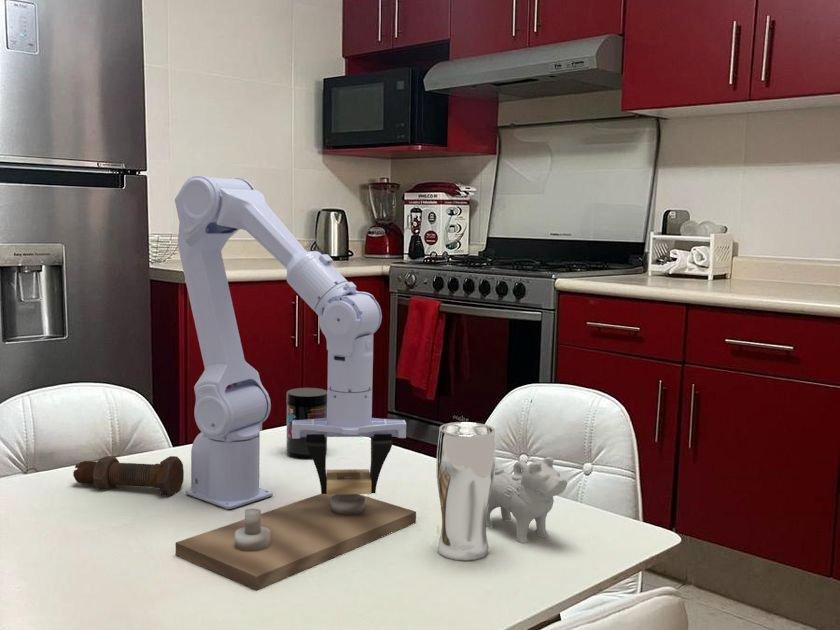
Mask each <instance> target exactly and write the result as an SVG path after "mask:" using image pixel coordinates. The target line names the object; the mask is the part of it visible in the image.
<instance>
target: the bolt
mask: <svg viewBox="0 0 840 630" xmlns="http://www.w3.org/2000/svg"><path fill="white" fill-rule="evenodd" d="M74 468H75V469H74V470H73V472H72V473H73V477H74V480H75V481H76V482H77V483H78V484H79V483H80V484H86V485H94V486H95V487H96V488H97V490H102V491H109V490H112V489H115V487H118V486H120V487H123V486H124V487H126V486H127V487H141V488H143V487H144V488H152V489H158V490H159V493H160V496H161V497H171V496H175V495H177V494H178V493H180V490H181V488H182V486H183V483H184V479H185V478H184V477H185V476H184V473H185V471H184V465H183V462H182V460H181V458H179V456H177V455H176V456H175V455H174V456H173V455H170V456H168V457H166V458H164V459H163V460H161V461H160V463H155V464H153V463H152V464H151V463H134V462H120V461H119V459H118V458H117V457H116V456H114V455H110V456H109V455H106V456H103V457H101V458H99V459H98V460H97V461H95V460H94V461H91V460H84V461H80V462H79V463H76V464H75V465H74Z"/></svg>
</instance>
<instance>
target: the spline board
mask: <svg viewBox="0 0 840 630" xmlns="http://www.w3.org/2000/svg"><path fill="white" fill-rule="evenodd" d="M352 479H353V477H351V476H345V477H344V480H352ZM413 523H414V524H416V523H417V511H415V510H412V509H408V508H405V507H403V506H399V505H396V504H392V503H390V502H386V501H382V500H379V499H377V498H372V497H369V496H365V495H364V494H329V495H327V494H321V493H320V494H319V493H318V494H316V495H313V496H309V497H307V498H304V499H301V500H298V501H295V502H292V503H289V504H286V505H283V506H280V507H278V508H277V507H276V508H274V509H271V510H268V511H266V512H262V511H261V509H259V508H247V509H246V510H245V511H244V519H241V520H239V521H236V522H233V523H230V524H227V525H224V526H220V527H218V528H214V529H212V530H211V529H210V530H209V531H206V532H202V533H200V534H197V535H193V536H191V537H188V538H185V539H182V540H179V541H176V542H175V556H177V557H179V558H182V559H184V560H186V561H189V562H191V563H193V564H196V565H197V566H200V567H202V568H205V569H207V570H209V571H212V572H214V573H216V574H218V575H220V576H223V577H225V578H228V579H230V580H232V581H234V582H237V583H239V584H241V585H244V586H246V587H247V588H250V589H252V590H255V591H258V590H260V589H263V588H265V587H267V586H269V585H272V584H275V583H277V582H279V581H282V580H284V579H286V578H289V577H291V576H294V575H296V574H298V573H301V572H303V571H305V570H308V569H310V568H312V567H315V566H317V565H319V564H321V563H323V562H327V561H329V560H331V559H333V558H336V557H338V556H341V555H343V554H346V553H348V552H350V551H352V549H353V550H355V549H357V548H359V546H360V547H362V546H364V545H366V543H367V542H369V543H371V542H370V541H372V540H374V541H376V540H378V539H377V538H379V539H381V538H383V537H385V536H384V535H386V536H388V535H390V534H392V533H391V532H393V533H395V532H397V531H399V530H398V529H400V530H402V529H404V528H403V527H405V526H407V527H409V526H411V524H412V525H414V524H413ZM408 525H409V526H408ZM401 528H402V529H401ZM405 528H406V527H405ZM396 530H397V531H396ZM394 531H395V532H394ZM389 533H390V534H389ZM387 534H388V535H387ZM382 536H383V537H382ZM380 537H381V538H380ZM375 539H376V540H375ZM372 542H373V541H372ZM363 544H364V545H363ZM367 544H368V543H367ZM361 545H362V546H361ZM354 548H355V549H354Z"/></svg>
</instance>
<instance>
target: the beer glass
mask: <svg viewBox="0 0 840 630" xmlns="http://www.w3.org/2000/svg"><path fill="white" fill-rule="evenodd" d="M495 431H496V430H495V428H494V427H493V426H490V425H488V424H484V423H479V422H471V421H455V422H449V423H445V424H442V425H440V426H439V432H438V438H437V439H438V440H437V449H436V462H435V463H436V480H437V481H436V483H437V489H438V497H439V504H440V511H441V512H440V513H441V530H440V534H439V540H438V544H437V552H438V554H440V555H441V556H443V557H445V558H447V559H450V560H454V561H464V562H465V561H466V562H468V561H476V560H477V561H478V560H480V559H482V558H485V557H486V556H487V555H488V553H489V544H488V538H487V537H488V536H487V528H486V517H487V511H488V506H489V502H490V497H491V493H492V488H493V482H494V476H495V466H496V438H495V437H496V435H495V433H496V432H495Z"/></svg>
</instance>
